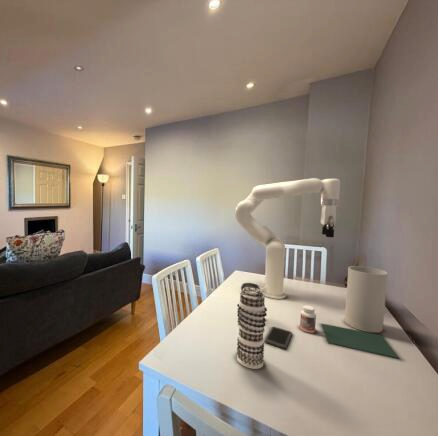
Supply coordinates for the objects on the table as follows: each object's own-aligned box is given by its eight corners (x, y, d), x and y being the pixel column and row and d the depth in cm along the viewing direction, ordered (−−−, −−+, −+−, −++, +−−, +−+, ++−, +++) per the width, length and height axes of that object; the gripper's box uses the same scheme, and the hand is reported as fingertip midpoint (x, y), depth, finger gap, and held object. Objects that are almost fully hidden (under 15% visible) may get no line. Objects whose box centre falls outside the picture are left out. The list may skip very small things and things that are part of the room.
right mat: (328, 343, 94) (328, 342, 94) (321, 324, 108) (321, 323, 108) (398, 358, 85) (399, 357, 85) (381, 336, 99) (381, 335, 99)
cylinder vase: (375, 322, 110) (379, 268, 108) (388, 336, 99) (393, 276, 97) (341, 316, 115) (344, 264, 113) (349, 329, 104) (353, 272, 102)
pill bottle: (299, 329, 104) (300, 307, 103) (301, 325, 108) (302, 303, 107) (314, 334, 100) (315, 311, 99) (315, 329, 104) (317, 307, 104)
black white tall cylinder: (262, 373, 78) (266, 297, 76) (232, 363, 83) (235, 291, 81) (266, 357, 85) (269, 288, 83) (238, 349, 90) (240, 283, 88)
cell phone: (264, 342, 94) (264, 340, 94) (272, 327, 105) (272, 325, 105) (285, 349, 90) (285, 347, 90) (292, 333, 101) (292, 331, 101)
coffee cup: (258, 314, 118) (259, 283, 117) (260, 322, 110) (261, 289, 109) (239, 311, 121) (240, 281, 120) (240, 319, 113) (241, 287, 112)
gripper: (317, 202, 135) (316, 233, 137) (324, 203, 120) (322, 237, 121) (334, 202, 132) (332, 234, 133) (343, 203, 117) (340, 238, 118)
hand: (327, 235), depth 127 cm, fingers open, 9 cm apart
